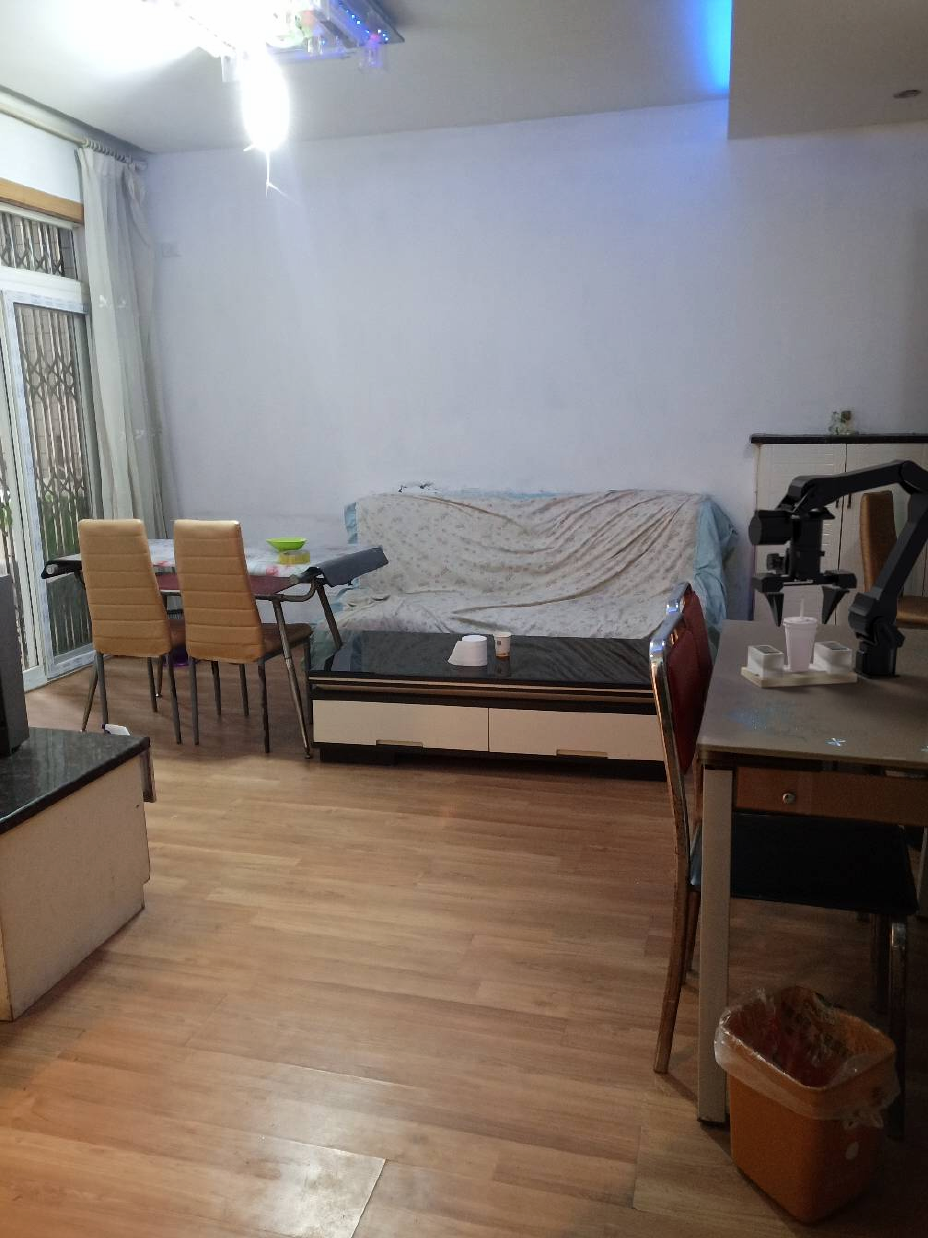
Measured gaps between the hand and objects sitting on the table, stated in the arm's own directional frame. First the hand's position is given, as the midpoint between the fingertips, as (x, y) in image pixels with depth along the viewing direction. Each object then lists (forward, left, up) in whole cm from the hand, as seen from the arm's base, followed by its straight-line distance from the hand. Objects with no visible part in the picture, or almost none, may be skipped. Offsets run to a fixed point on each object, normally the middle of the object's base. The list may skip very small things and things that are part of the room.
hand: (801, 625), depth 185 cm
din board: (0, 0, -10) cm, 10 cm away
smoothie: (0, 0, -9) cm, 9 cm away
